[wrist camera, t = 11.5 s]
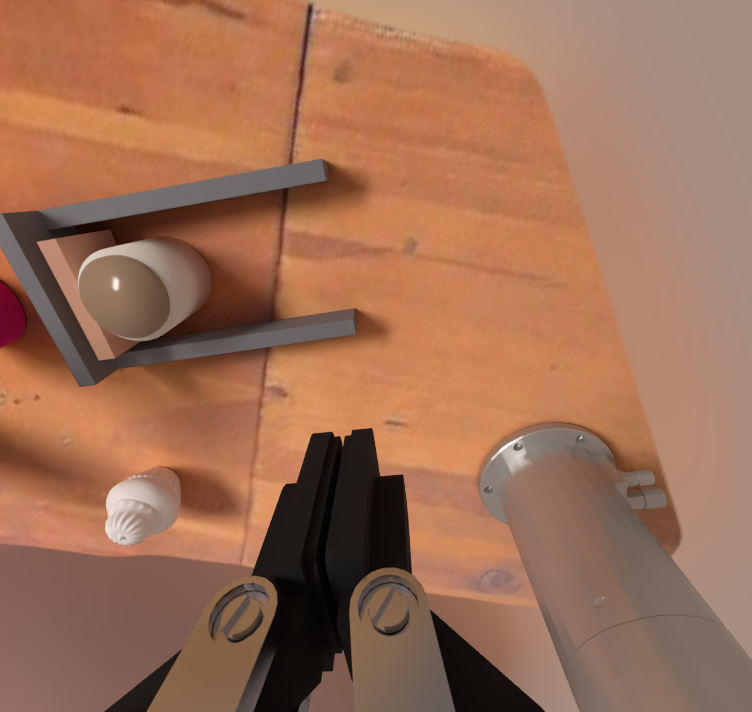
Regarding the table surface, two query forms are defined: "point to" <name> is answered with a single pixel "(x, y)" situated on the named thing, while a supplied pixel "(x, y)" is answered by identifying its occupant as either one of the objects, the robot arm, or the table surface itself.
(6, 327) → the pepper mill
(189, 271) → the jar
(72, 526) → the table surface
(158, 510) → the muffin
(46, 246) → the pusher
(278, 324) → the frame
